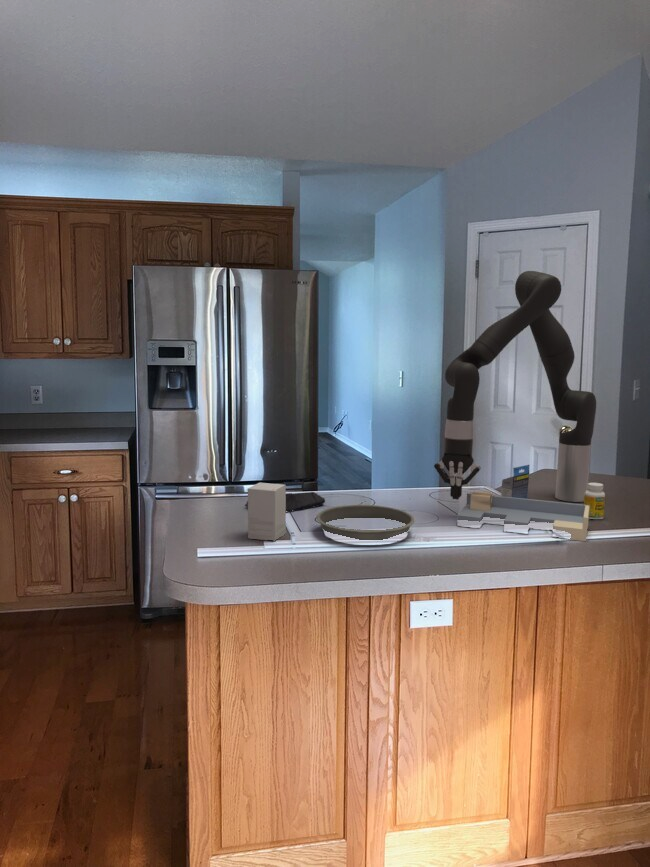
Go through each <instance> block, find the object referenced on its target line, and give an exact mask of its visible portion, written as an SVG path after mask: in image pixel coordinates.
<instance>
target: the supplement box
mask: <svg viewBox="0 0 650 867" xmlns="http://www.w3.org/2000/svg"><path fill="white" fill-rule="evenodd" d="M286 486H287V485H286V484H280V483H267V482H258V483H256V484H253V485H252V486H250V487H248V488H247V501H248V507H247V538H248V539H251V540H252V539H253V540H260V541H267V540H276V539H278V538H279V537H281V536H282V537H283V536H285V535H286V534H285V533H286V532H287V529H286V528H287V527H286V525H287V523H286V516H287V515H286V513H287V512H286V494H287V493H286V491H287V490H286ZM284 534H285V535H284ZM282 537H281V538H282ZM279 539H280V538H279ZM279 539H278V540H279ZM276 541H277V540H276Z"/></svg>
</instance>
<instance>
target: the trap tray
mask: <svg viewBox="0 0 650 867" xmlns="http://www.w3.org/2000/svg"><path fill="white" fill-rule="evenodd" d="M472 493H473V492H467V493H466V504H465V505H464V506H463V508H462V509H461V510H460V511H459V512H458V514H457V515H456V516H457V517H456V521H457V520H468V521H479V522H480V521H481V520H482V519H483V517H490V518H500V519H505V520H504V524H515V525H528V524H529V523H530V521H535V522H547V523H548V522H549V523H554V524H553V529H556V530H561V531H565V532H568V533H570V534H571V538H570V539H571V541H577V542H586V541H587V538H588V530H589V520H590V519H589V506H590V505H584V503H583V504H581V503H574V502H561V501H552V500H541V499H533V498H527V499H523V498H513V497H503V496H501V495H493V494H492V508H491V509H490V511H479V510H470V501H471V494H472ZM587 529H588V530H587ZM586 537H587V538H586Z"/></svg>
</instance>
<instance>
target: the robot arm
mask: <svg viewBox="0 0 650 867" xmlns="http://www.w3.org/2000/svg"><path fill="white" fill-rule="evenodd" d="M514 285H515V286H514V294H515V297H516V300H517V302H518V304H519V306H518V308H517V309H516V310H514V311H513V312H511V313H509V314H508V315H506V316H504V317H503V318H501V319H499V320H498V321H496V322H494V323H492V324H491V325H489V326H488V327H487V328H486V329H485V330H484V331H483V332H482V333H481V334H480V335H479V336H478V338H477V339H475V341H474V342H473V343H472V345H471V346H470V347H468V348H467V349H466V350H464V351H463V352H461V353H460V354H459V355H458V356H457V357H456V358H454V359H453V360H452V361H451V362H450V364H448V366H447V367H446V369H445V374H444V378H445V382H446V383H447V384H448V385H449V386H451V387H452V388H453V393H452V394H453V395H452V397H451V398H449V399H448V401H447V407H446V422H445V428H444V443H443V444H444V447H443V456H442V457H441V460H440V461H438V462H436V463H434V465H433V468H434V469H435V471H436V472H437V474H439V476H440V478H441V479H442V481H444V483H445V484H449V485H450V493H449V494H450V497H451V498H452V500H459V499H460V498H461V497H462V496H463V492H462V491H463V486H467V485H468V484H469V483H470V482H471V480H472V479H473V478H474V477H476V475H477V474H478V473H479V472H480V471H481V470H482V469H481V468H482V467H481V466H480V465H477V464H476V463H475V462H474V458H473V444H474V421H473V420H474V411H475V410H474V404H475V401H476V399H477V395H478V390H479V386H480V381H481V380H480V372H479V370H480V369H481V368H482V367H485V366H488V365H489V364H491V363H492V362H493V361H494V360H495V359H496V358H497V357H498V356H499V354H501V352H502V351H503V350H504V349H505V348H506V347H507V346H508V345H509V343H511V342H512V340H513V339H514V338H516V336H518V335H519V334H520V333H521V332H523V331H524V330H525V329H526V328H527V327H529V328H530V331H531V333H532V334H531V335H532V336H533V339H534V342H535V345H536V348H537V352H538V355H539V358H540V360H541V363H542V366H543V368H544V370H545V373H546V378H547V381H548V384H549V388H550V392H551V396H552V401H553V405H554V410H555V412H556V415H557V416H558V418H560V419H562V420H564V421H571V422H576V425H575V427H574V428H573V429H571V430H567V431H563V432H561V433H560V434H559V437H558V449H557V451H558V452H557V464H556V465H557V466H556V467H557V468H556V483H555V495H554V496H555V497H554V498H555V499H557V500H560V501H564V502H568V503H584V495H585V492H586V491H587V490H589V489H588V483H589V476H590V475H589V474H590V460H591V447H592V445H591V444H592V438H593V435H594V428H595V419H596V414H597V412H596V411H597V398H596V395H595V394H594V393H593V392H592V391H587V390H586V391H585V390H574V389H570V387H569V385H568V380H567V378H568V375H569V373H570V371H571V369H572V367H573V364H574V361H575V358H576V357H575V351H574V347H573V344H572V342H571V339H570V336H569V334H568V333H567V331H566V329H565V328H564V327H563V326H562V324H561V323H560V322H559V320H557V318H556V317H555V316H554V314H553V313H552V312H551V308H552V307H553V306H554V305H555V304H556V303H557V301H558V299H559V298H560V297H561V296H560V295H561V294H562V284H561V281H560V279H559V278H558V277H556V276H555V275H552V274H549V273H545V272H540V271H536V270H525V271H523V272H522V273H520V274H519V275H518V277H517V278H516V281H515V284H514ZM444 468H446V470H447V471H448V472H449V475H448V473H447V471H446V470H445V469H444ZM469 469H470V474H468V475H467V477H465V478H464V476H465V473H466V472H467V471H468V470H469Z"/></svg>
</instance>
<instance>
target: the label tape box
mask: <svg viewBox="0 0 650 867" xmlns="http://www.w3.org/2000/svg"><path fill="white" fill-rule="evenodd" d="M512 470H513V471H512V472H513V473H512V474H513V476H509V477H507V478H503V479H502V480H501V489H500V490H501V491H500V496H503V497H513V498H523V499H528V490H529V482H530V481H529V479H530V478H529V477H530V464H526V465H525V464H524V465H521V466H516V467H512ZM521 470H522V472H520V471H521Z"/></svg>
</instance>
